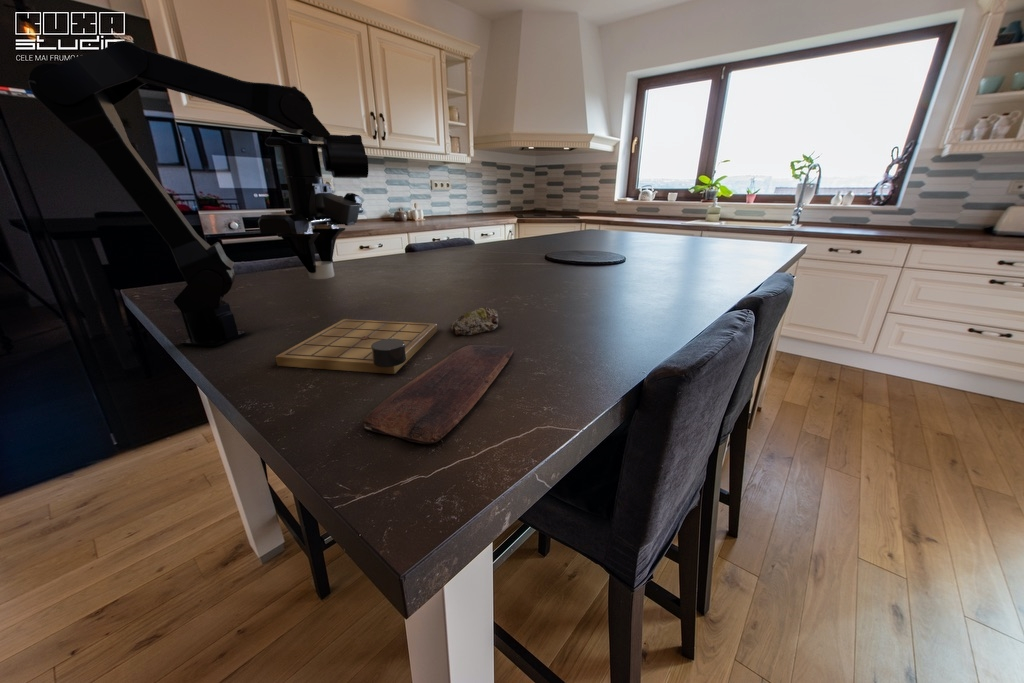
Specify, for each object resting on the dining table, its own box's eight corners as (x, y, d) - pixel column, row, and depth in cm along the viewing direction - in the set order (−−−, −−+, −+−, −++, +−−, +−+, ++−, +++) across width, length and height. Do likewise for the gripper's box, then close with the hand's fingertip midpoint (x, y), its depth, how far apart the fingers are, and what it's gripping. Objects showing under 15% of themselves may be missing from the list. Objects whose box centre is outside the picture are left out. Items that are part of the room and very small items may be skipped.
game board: (277, 366, 57) (274, 355, 56) (344, 326, 74) (343, 318, 73) (394, 374, 54) (393, 363, 54) (437, 331, 71) (436, 323, 71)
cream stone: (303, 279, 70) (300, 265, 70) (317, 274, 75) (315, 260, 74) (325, 279, 70) (323, 265, 69) (339, 274, 74) (337, 261, 73)
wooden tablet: (465, 336, 64) (523, 336, 61) (467, 349, 65) (524, 350, 61) (352, 421, 41) (435, 429, 37) (357, 439, 42) (439, 449, 38)
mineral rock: (473, 305, 79) (504, 300, 74) (479, 326, 80) (510, 323, 75) (434, 320, 71) (466, 316, 66) (441, 343, 72) (472, 341, 67)
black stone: (367, 366, 53) (365, 349, 52) (382, 353, 57) (380, 337, 56) (398, 368, 53) (396, 351, 52) (411, 355, 57) (409, 339, 56)
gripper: (314, 175, 56) (332, 282, 62) (375, 178, 74) (384, 262, 79) (244, 175, 58) (268, 280, 64) (319, 178, 75) (333, 261, 81)
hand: (320, 270), depth 72 cm, fingers closed on cream stone, 4 cm apart
